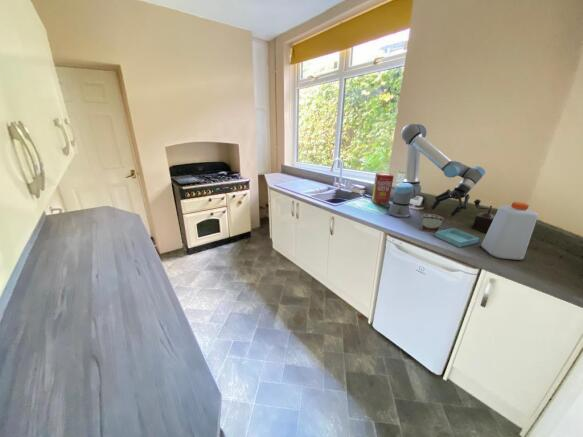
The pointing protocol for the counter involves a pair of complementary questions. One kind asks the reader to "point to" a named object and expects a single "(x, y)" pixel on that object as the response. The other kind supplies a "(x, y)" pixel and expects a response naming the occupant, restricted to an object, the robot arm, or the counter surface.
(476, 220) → the pepper mill
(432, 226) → the food container
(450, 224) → the counter surface
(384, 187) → the food packaging
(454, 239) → the tray
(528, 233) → the plastic bottle
